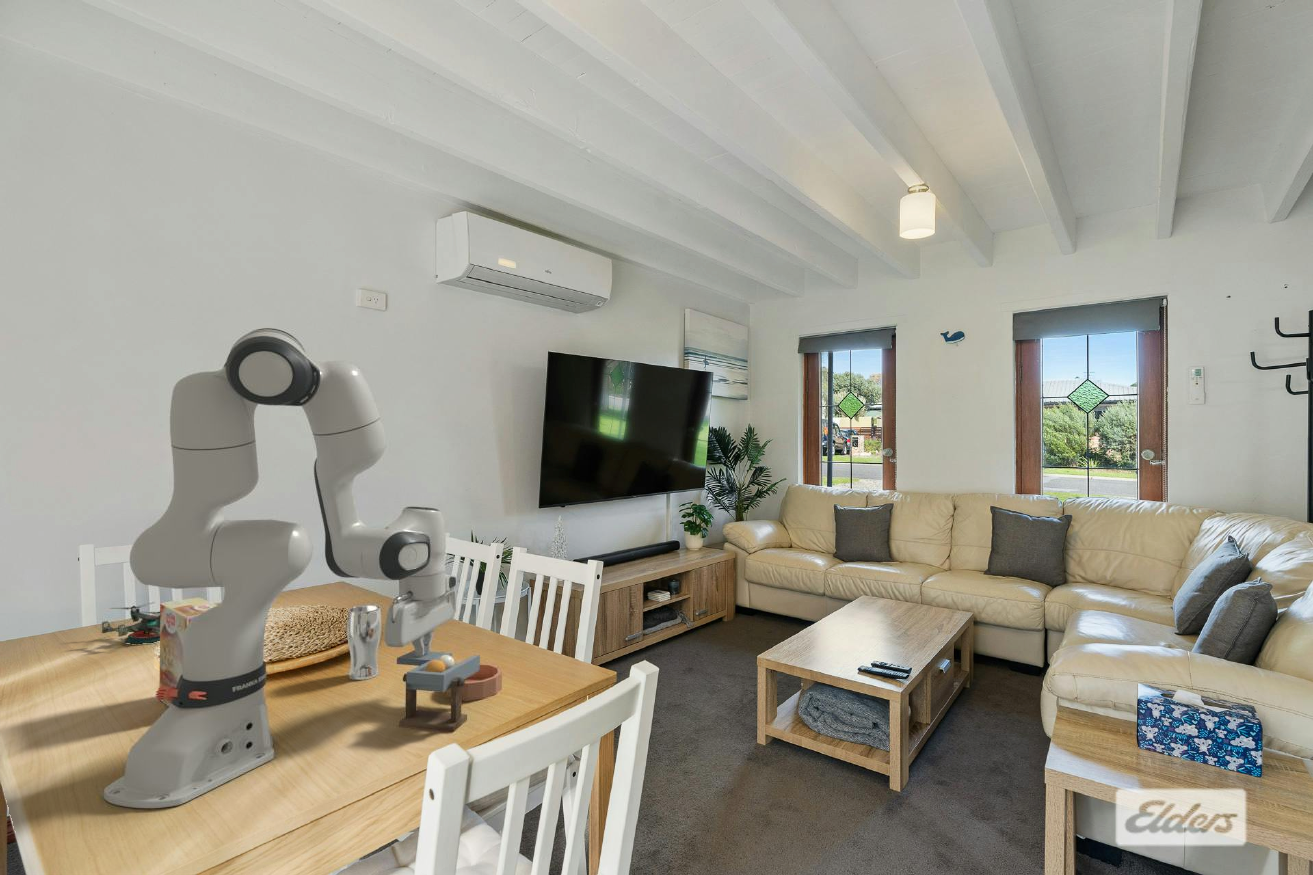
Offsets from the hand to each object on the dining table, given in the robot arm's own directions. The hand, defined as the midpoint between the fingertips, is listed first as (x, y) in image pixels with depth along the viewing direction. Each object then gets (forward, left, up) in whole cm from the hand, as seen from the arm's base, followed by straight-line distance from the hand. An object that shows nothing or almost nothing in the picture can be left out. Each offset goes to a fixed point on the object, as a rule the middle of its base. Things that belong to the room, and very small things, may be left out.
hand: (422, 654), depth 124 cm
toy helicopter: (+20, +93, -10) cm, 95 cm away
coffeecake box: (-10, +45, -10) cm, 47 cm away
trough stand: (-8, -7, -10) cm, 15 cm away
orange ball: (-8, -7, 0) cm, 11 cm away
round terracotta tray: (+8, -7, -10) cm, 14 cm away
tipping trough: (-4, -4, -3) cm, 6 cm away
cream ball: (-4, -7, 0) cm, 9 cm away
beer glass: (+10, +21, -10) cm, 25 cm away
